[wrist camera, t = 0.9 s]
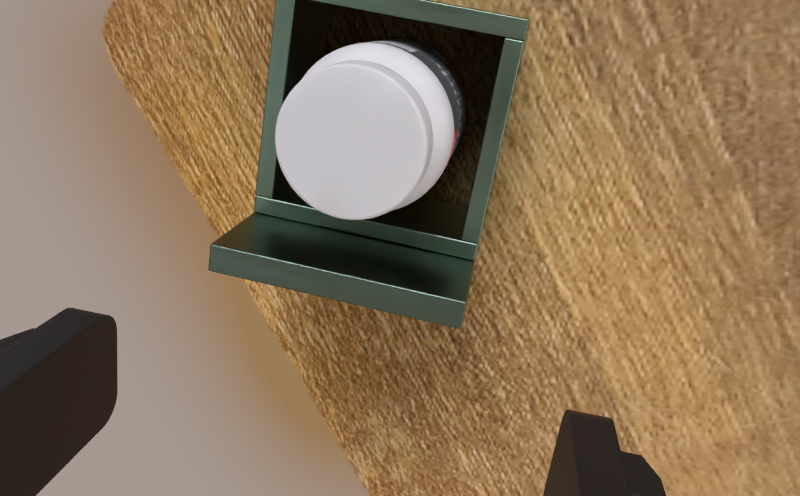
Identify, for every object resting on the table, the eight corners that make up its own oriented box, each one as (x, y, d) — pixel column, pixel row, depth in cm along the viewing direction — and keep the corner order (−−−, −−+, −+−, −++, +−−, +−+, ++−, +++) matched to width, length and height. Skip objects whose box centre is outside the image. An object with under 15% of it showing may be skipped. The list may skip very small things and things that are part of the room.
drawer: (317, -21, 29) (233, -36, 20) (528, 18, 28) (531, 20, 19) (290, 204, 32) (207, 271, 24) (477, 245, 31) (460, 330, 23)
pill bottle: (472, 169, 30) (449, 238, 21) (345, 174, 31) (269, 242, 22) (466, 31, 28) (438, 39, 19) (331, 41, 29) (243, 53, 20)
